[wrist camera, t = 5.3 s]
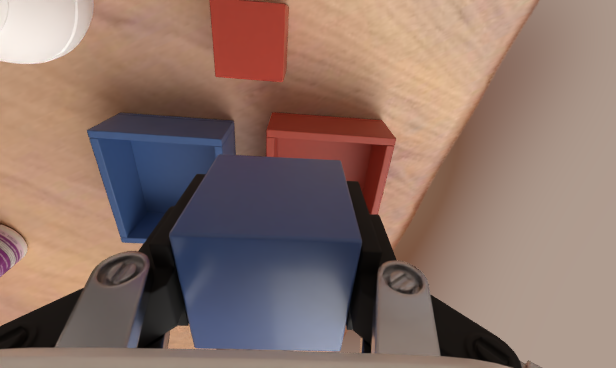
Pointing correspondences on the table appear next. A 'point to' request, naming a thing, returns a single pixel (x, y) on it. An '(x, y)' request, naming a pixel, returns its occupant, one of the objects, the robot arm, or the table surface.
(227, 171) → the blue block
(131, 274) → the robot arm
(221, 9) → the red block
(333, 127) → the red bin
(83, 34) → the spinning top
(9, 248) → the pill bottle
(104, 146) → the blue bin
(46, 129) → the table surface
